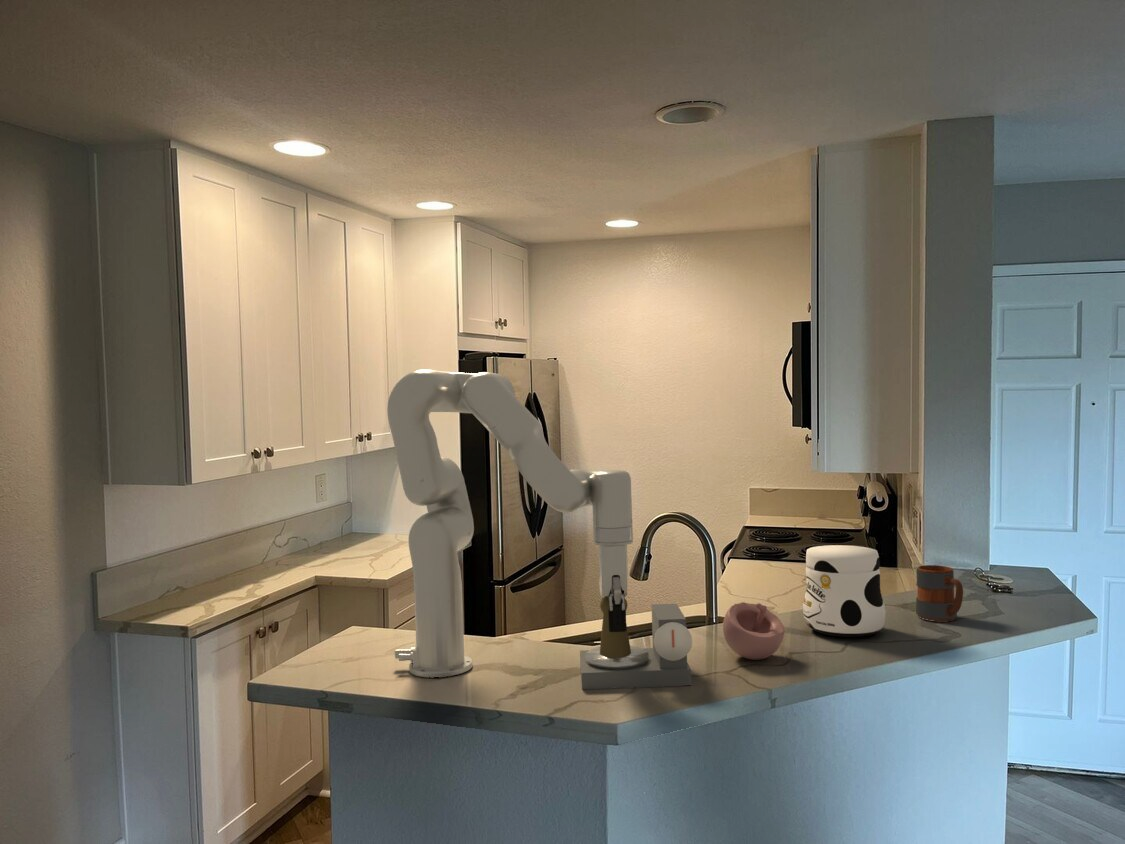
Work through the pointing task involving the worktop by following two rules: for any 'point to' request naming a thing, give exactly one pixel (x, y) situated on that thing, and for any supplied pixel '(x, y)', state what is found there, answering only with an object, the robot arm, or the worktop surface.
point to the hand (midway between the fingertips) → (615, 624)
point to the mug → (938, 593)
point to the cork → (613, 635)
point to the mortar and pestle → (752, 630)
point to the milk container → (843, 591)
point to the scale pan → (617, 659)
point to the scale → (650, 657)
